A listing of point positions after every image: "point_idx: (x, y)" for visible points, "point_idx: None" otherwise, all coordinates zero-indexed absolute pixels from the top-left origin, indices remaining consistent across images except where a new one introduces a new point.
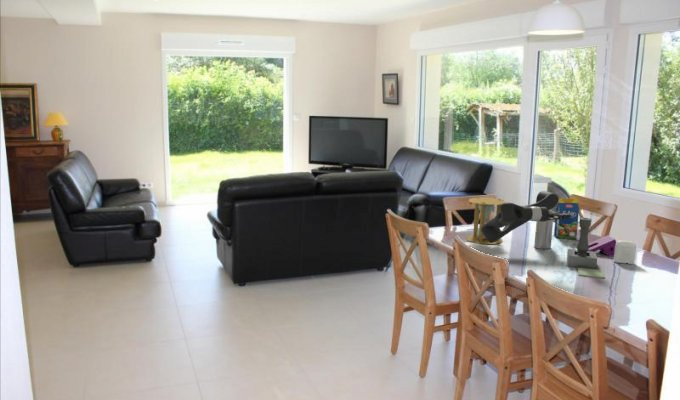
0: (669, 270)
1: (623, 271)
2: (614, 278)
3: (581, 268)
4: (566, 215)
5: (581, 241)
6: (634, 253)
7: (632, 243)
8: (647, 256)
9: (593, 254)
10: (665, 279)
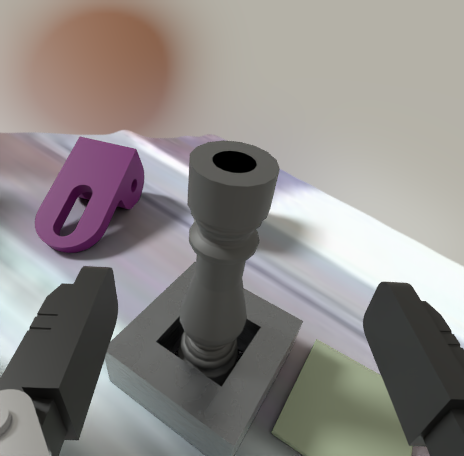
0: (298, 182)
1: (310, 274)
2: None
3: (286, 419)
4: (441, 352)
5: (230, 306)
6: None
7: None
8: (179, 152)
9: None
10: (380, 230)
